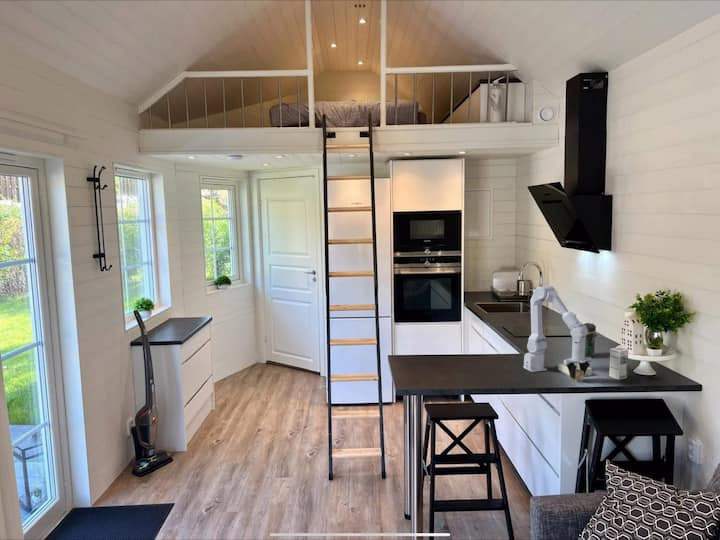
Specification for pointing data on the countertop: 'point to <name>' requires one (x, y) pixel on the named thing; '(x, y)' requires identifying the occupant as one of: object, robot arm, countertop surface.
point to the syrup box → (618, 363)
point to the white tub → (564, 369)
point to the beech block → (578, 375)
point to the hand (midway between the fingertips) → (577, 377)
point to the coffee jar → (590, 340)
